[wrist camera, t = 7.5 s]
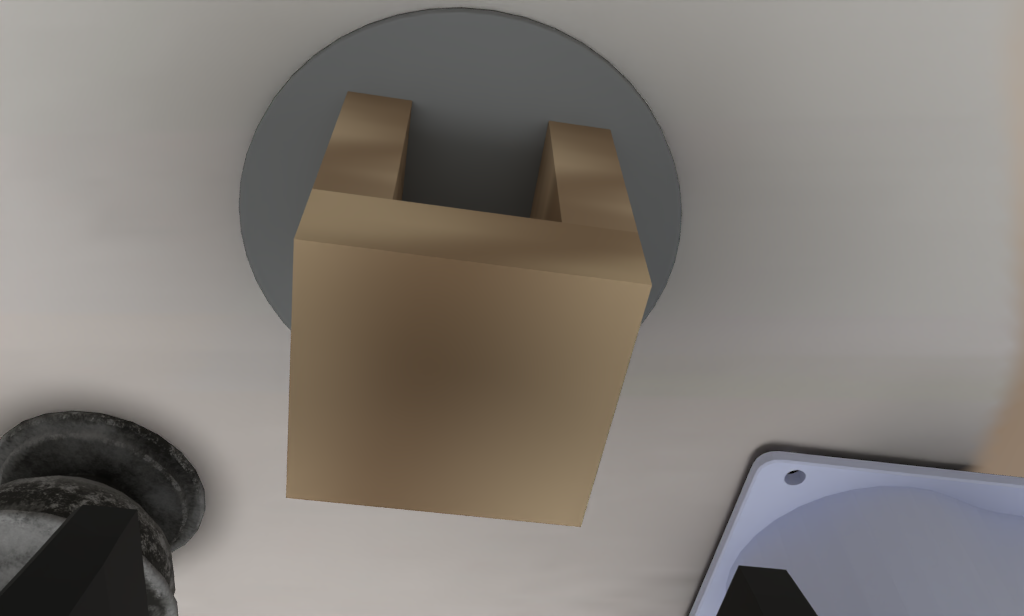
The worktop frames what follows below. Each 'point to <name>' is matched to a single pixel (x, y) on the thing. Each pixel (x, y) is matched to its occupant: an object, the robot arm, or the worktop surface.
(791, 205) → the worktop surface
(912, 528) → the robot arm
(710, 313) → the worktop surface
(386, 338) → the slotted wooden block
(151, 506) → the dark grey stone ornament
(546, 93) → the pad
